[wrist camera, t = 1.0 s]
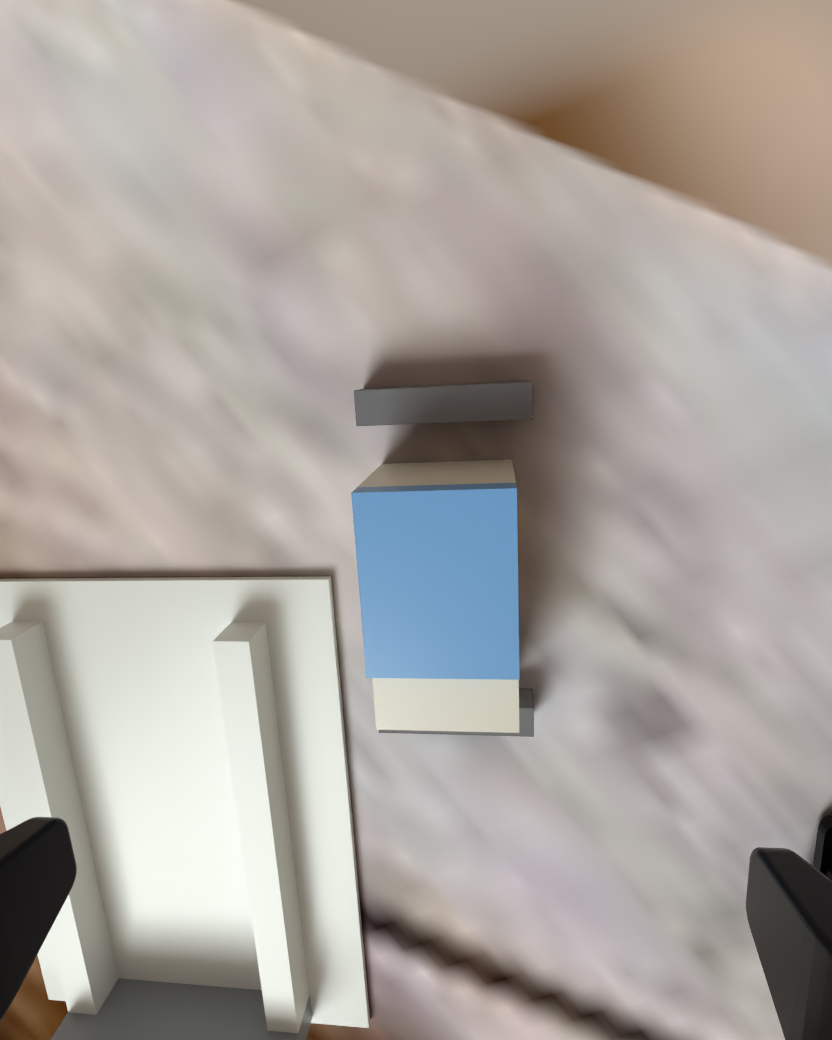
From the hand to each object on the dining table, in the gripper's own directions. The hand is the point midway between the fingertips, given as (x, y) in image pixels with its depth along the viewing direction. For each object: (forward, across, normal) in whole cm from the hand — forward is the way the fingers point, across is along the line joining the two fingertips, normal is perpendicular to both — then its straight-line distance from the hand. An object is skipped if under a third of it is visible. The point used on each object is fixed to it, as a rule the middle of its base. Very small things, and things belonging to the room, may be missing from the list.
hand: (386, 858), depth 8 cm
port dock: (+12, +11, +10) cm, 19 cm away
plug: (+12, 0, 0) cm, 13 cm away
